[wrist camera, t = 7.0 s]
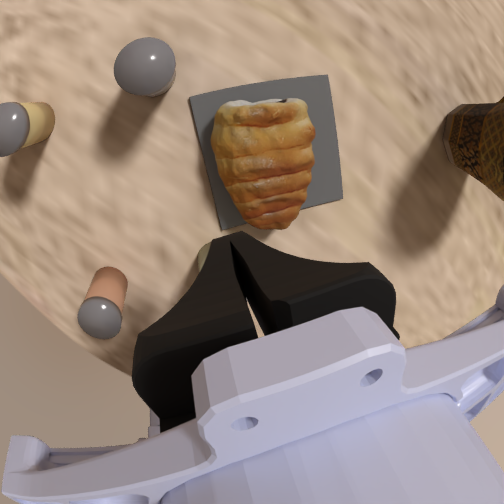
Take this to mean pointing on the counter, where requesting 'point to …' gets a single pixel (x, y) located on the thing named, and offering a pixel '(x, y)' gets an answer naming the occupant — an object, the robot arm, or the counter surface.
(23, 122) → the jar mustard
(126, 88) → the jar slate blue
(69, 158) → the counter surface
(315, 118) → the slate mat
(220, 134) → the pastry
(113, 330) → the jar terracotta
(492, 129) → the ceramic cup
